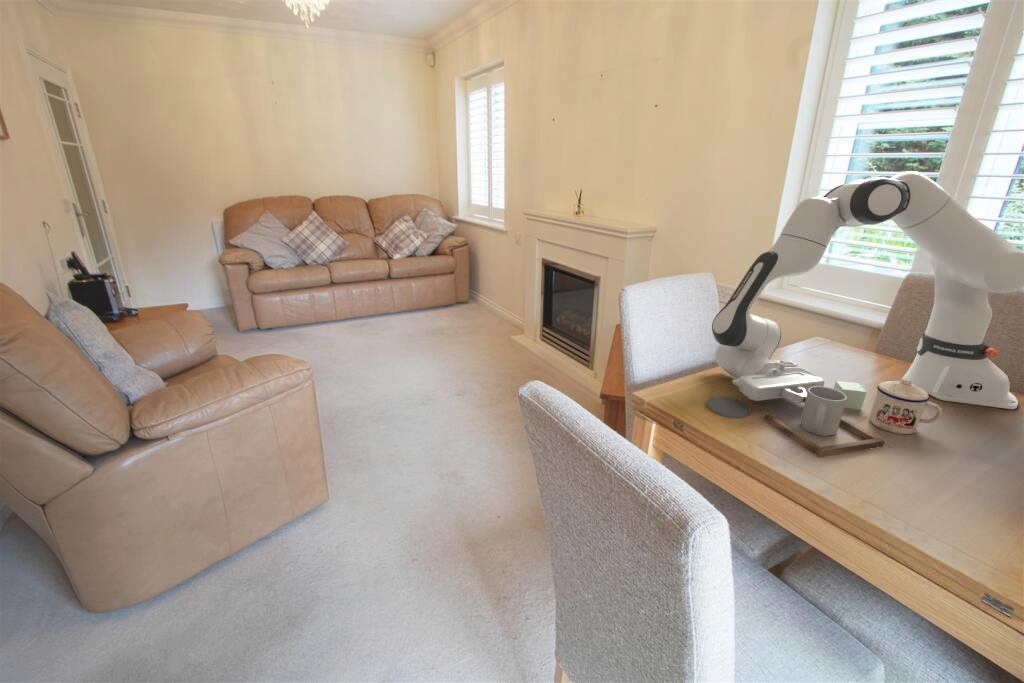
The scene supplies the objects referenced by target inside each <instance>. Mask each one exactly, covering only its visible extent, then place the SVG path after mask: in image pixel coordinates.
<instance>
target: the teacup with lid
mask: <svg viewBox="0 0 1024 683" xmlns="http://www.w3.org/2000/svg"><path fill="white" fill-rule="evenodd" d="M929 395H930V394H928V393H927V392H926V391H924V390H923V389H921V388H919V387H917V386H915V385H914V384H912V381H911V380H910V379H907V378H903V377H902V378H900V379H899V380H894V381H891V380H888V381H882V382H880V383H878V385H877V391H876V395H875V398H874V402H873V404H872V408H871V411H870V414H869V418H868V419H869V422H870V423H871V424H873V425H874V426H876V427H878V428H879V429H881V430H884V431H887V432H891V433H894V434H901V435H911V434H914V433H916V432H917V430H918V427H919V424H920V423H921V424H932V423H935V422H936V421H938V420H940V418H942V415H943V410H942V407H941V406H939V405H938V404H937V403H933V402H930V401H929V400H930V396H929ZM925 406H926V407H929V408H930V407H931V408H934V409H936V411H937V413H936V414H935V415H934V416H932V417H930V418H922V415H923V412H924V409H925Z"/></svg>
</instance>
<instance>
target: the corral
mask: <svg viewBox="0 0 1024 683" xmlns="http://www.w3.org/2000/svg"><path fill="white" fill-rule="evenodd" d="M763 420H764V421H765V422H766V423H768V424H770V425H771V426H773V427H774V428H775V429H777V430H779V431H780V432H781V433H783V434H784V435H786V436H787V437H789V438H790V439H791V440H793V441H794V442H796V443H797V444H798V445H800V446H801V447H803V448H805V449H806V450H807V451H809V452H811V453H812V454H813V455H815V456H816V457H818V458H823V457H828V456H834V455H835V454H836V455H841V454H840V453H842V454H846V453H845V452H848V453H853V451H854V452H860V451H866V450H865V449H867V450H871V449H870V448H873V449H878V448H877V447H879V448H883V447H884V445H885V441H886V440H884V439H882V438H881V437H879V436H877V435H875V434H874V433H871V432H870V431H868V430H866V429H864V428H863V427H861V426H860V425H858V424H855V423H854V422H852V421H850V420H848V419H847V418H844V417H843V416H842V417H841V420H840V424H839V426H840V425H841V426H840V427H842V428H844V429H845V428H846V430H847V429H848V430H847V431H849V432H850V433H852V432H853V433H852V434H854V433H855V435H856V436H858V437H859V436H860V438H861V437H862V438H861V439H862V440H857V441H852V442H845V443H837V444H830V445H825V446H820V445H818V444H817V443H815V442H813V441H812V440H811V439H809V438H807V437H806V436H804V435H803V434H801V433H800V432H798V431H797V430H795V429H794V428H792V427H791V426H789V425H788V424H786V423H784V422H783V421H782V420H780V419H779V418H777V417H776V416H774V415H772V414H771V413H764V416H763ZM863 438H864V439H866V440H864V439H863ZM859 450H860V451H859Z"/></svg>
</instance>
